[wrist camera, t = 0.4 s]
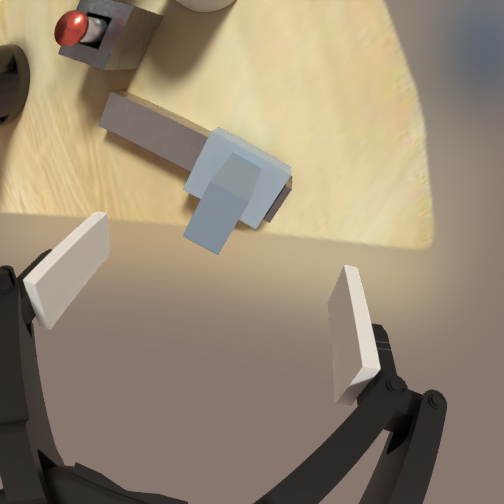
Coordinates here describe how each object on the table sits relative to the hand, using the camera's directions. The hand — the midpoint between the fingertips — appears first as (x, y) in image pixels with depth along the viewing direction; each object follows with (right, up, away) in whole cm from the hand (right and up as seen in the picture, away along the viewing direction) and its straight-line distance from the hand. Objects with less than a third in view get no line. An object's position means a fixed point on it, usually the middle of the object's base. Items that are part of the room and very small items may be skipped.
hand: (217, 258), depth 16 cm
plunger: (-15, +27, +11) cm, 33 cm away
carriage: (0, +10, +22) cm, 24 cm away
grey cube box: (-15, +29, +14) cm, 35 cm away
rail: (-6, +14, +22) cm, 27 cm away
